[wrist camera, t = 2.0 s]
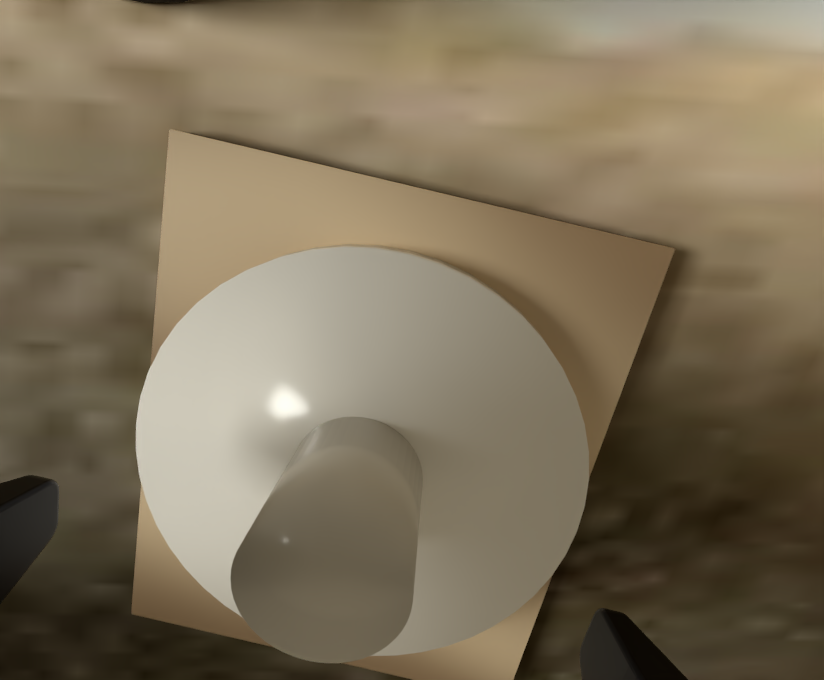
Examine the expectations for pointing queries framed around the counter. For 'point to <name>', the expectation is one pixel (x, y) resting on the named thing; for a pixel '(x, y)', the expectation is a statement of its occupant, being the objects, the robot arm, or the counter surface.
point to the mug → (151, 0)
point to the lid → (362, 452)
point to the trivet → (411, 230)
